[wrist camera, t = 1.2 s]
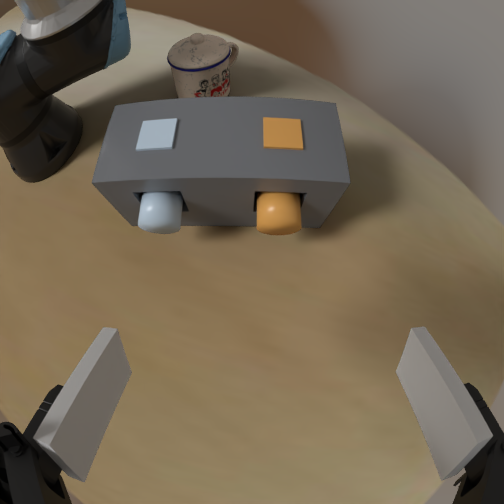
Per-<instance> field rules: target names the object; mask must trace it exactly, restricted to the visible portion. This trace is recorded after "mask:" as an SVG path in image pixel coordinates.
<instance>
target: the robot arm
mask: <svg viewBox="0 0 504 504" xmlns="http://www.w3.org/2000/svg"><path fill="white" fill-rule="evenodd" d="M15 2H16V3H17V5H18V6H19V8H20V9H21V11H22V12H23V14H24V15H25V18H24V20H23V23H22V25H21V34H19V35H16V32H14V31H13V30H7V31H6V32H4V33H2V34H1V35H0V146H1V147H2V148H3V150H4V152H5V154H6V157H7V159H8V160H9V162H10V164H11V167H12V170H13V171H14V173H15V174H16V175H17V176H19V177H20V178H21V179H22V180H24V181H26V182H37V181H40V180H43V179H45V178H47V177H49V176H50V175H52V174H53V173H54V172H56V171H57V170H58V169H59V168H60V167H61V166H62V165H63V164H64V163H65V162H66V161H67V160H68V158H69V157H70V156H71V154H72V153H73V151H74V150H75V148H76V146H77V144H78V142H79V140H80V137H81V133H82V121H81V118H80V117H79V115H78V114H77V112H76V111H75V109H74V108H73V107H71V106H69V105H67V104H65V103H64V102H62V101H61V100H59V99H58V98H56V97H55V96H53V95H52V94H54V93H55V92H57V91H59V90H61V89H63V88H65V87H67V86H69V85H71V84H72V83H74V82H77V81H79V80H81V79H83V78H85V77H87V76H89V75H91V74H93V73H96V72H98V71H100V70H102V69H103V70H104V69H106V68H107V67H108V66H110V65H112V64H114V63H116V62H118V61H120V60H122V59H124V58H125V57H126V56H127V55H128V54H129V52H130V49H131V39H130V30H129V23H128V17H127V11H126V3H125V0H15ZM131 373H132V371H131V369H130V366H129V363H128V360H127V357H126V354H125V351H124V348H123V345H122V342H121V339H120V335H119V332H118V329H114V328H105V327H103V329H102V330H101V331H100V333H99V334H98V336H97V337H96V339H95V340H94V341H93V343H92V344H91V346H90V347H89V349H88V350H87V352H86V353H85V355H84V356H83V358H82V359H81V361H80V362H79V364H78V365H77V367H76V368H75V370H74V371H73V373H72V374H71V376H70V377H69V379H68V380H67V382H66V384H65V385H64V386H61V385H57V386H56V387H54V388H53V389H52V390H51V391H49V393H48V394H47V396H46V397H45V399H44V400H43V401H44V402H42V404H41V405H40V407H39V410H37V412H36V413H35V415H34V416H33V418H32V420H31V421H30V423H29V425H28V426H27V428H26V430H25V431H24V433H23V434H22V433H21V432H20V431H19V430H18V429H17V427H16V426H15V425H14V424H13V423H10V422H2V423H0V504H72V503H71V500H70V497H69V495H68V492H67V490H66V487H65V484H64V481H63V479H62V477H61V475H60V473H61V471H62V470H63V471H64V472H65V473H66V474H67V475H68V476H70V477H72V478H75V479H77V480H80V481H82V482H85V480H86V478H87V475H88V472H89V470H90V467H91V465H92V462H93V460H94V457H95V455H96V453H97V450H98V448H99V445H100V443H101V441H102V438H103V436H104V433H105V431H106V429H107V426H108V424H109V422H110V420H111V417H112V415H113V413H114V411H115V408H116V406H117V404H118V402H119V399H120V397H121V395H122V393H123V391H124V388H125V386H126V384H127V382H128V380H129V378H130V376H131ZM396 373H397V375H398V378H399V380H400V382H401V384H402V386H403V388H404V391H405V393H406V395H407V397H408V399H409V402H410V404H411V406H412V408H413V411H414V413H415V415H416V418H417V420H418V422H419V425H420V427H421V430H422V432H423V434H424V437H425V439H426V442H427V444H428V447H429V449H430V452H431V454H432V457H433V460H434V462H435V465H436V468H437V470H438V473H439V476H440V479H441V481H442V480H445V479H447V478H450V477H452V476H455V475H456V474H458V473H459V472H460V471H461V470H462V469H463V468H465V470H466V473H464V474H463V475H462V476H461V477H460V478H459V479H458V480H457V481H456V482H455V484H454V486H456V485H457V484H458V483H460V482H461V483H460V486H459V489H458V491H457V494H456V496H455V499H454V501H453V504H504V433H503V431H502V430H501V428H500V427H499V424H498V423H497V421H496V419H495V417H494V416H493V414H492V412H491V411H490V409H489V407H487V404H486V402H485V401H484V400H483V397H482V396H481V394H480V393H479V391H478V390H477V389H476V388H475V387H474V386H473V385H471V384H470V383H466V384H463V383H462V381H461V380H460V378H459V376H458V375H457V373H456V372H455V370H454V369H453V367H452V366H451V364H450V363H449V361H448V360H447V358H446V357H445V355H444V354H443V352H442V351H441V349H440V348H439V346H438V345H437V343H436V342H435V340H434V339H433V338H432V336H431V335H430V333H429V332H428V331H427V329H426V328H425V327H417V328H411V330H410V333H409V336H408V339H407V342H406V345H405V348H404V351H403V354H402V357H401V359H400V362H399V365H398V368H397V370H396Z"/></svg>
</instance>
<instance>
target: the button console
mask: <svg viewBox="0 0 504 504" xmlns="http://www.w3.org/2000/svg"><path fill="white" fill-rule="evenodd" d="M92 184H93V185H94V186H95V187H96V188H97V189H98V190H99V191H100V193H101V194H102V195H103V196H104V197H105V198H106V199H107V200H108V201H109V202H110V203H111V204H112V205H113V207H114V208H115V209H116V210H117V211H118V212H119V213H120V214H121V215H122V216H123V217H124V218H125V219H126V220H127V221H128V222H129V223H130V224H131V225H132V226H138V219H139V212H140V205H141V199H142V193H143V192H161V191H180V192H181V193H182V196H183V205H182V215H181V226H257V193H258V192H259V191H267V192H295V193H299V194H300V207H301V226H302V227H305V228H320V227H321V225H322V224H323V222H324V221H325V220H326V218H327V217H328V215H329V214H330V212H331V211H332V209H333V208H334V207H335V205H336V204H337V202H338V201H339V199H340V198H341V196H342V195H343V193H344V192H345V190H346V189H347V188H348V186H349V185H350V177H349V170H348V164H347V158H346V152H345V147H344V141H343V136H342V131H341V126H340V121H339V116H338V111H337V107H336V103H330V102H321V101H312V100H301V99H288V98H271V97H195V98H178V99H165V100H155V101H145V102H137V103H129V104H122V105H115V108H114V111H113V113H112V116H111V119H110V122H109V125H108V128H107V131H106V134H105V137H104V140H103V144H102V147H101V150H100V154H99V157H98V161H97V164H96V168H95V172H94V176H93V180H92Z"/></svg>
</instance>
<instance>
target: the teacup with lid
mask: <svg viewBox="0 0 504 504" xmlns="http://www.w3.org/2000/svg"><path fill="white" fill-rule="evenodd" d="M231 47H232V52H231V50H230V48H231ZM230 52H231V55H230ZM238 52H239V49H238V46H237V45H236V44H234V43H232V42H226V41H225V40H224V39H222V38H220V37H218V36H214V35H203V34H201V33H195V34H193V35H191V36H190V37H187V38H185V39H182V40H180V41H179V42H177V43H176V44H175V45H173V46H172V48H171V49H170V51H169V53H168V57H167V60H168V63H169V64H170V66H171V70H172V74H173V78H174V82H175V87H176V91H177V95H178V98H195V97H227V96H228V94H229V92H230V68H229V67H230V66H232V65H233V63H234V62H235V60H236V58H237V56H238ZM229 55H230V57H229Z"/></svg>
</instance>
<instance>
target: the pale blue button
mask: <svg viewBox="0 0 504 504" xmlns="http://www.w3.org/2000/svg"><path fill="white" fill-rule="evenodd" d="M182 205H183V196H182V193H181V192H180V191H161V192H143V193H142V199H141V205H140V212H139V219H138V226H139V227H140V228H141V229H143V230H145V231H148V232H152V233H159V234H170V233H175V232H178V231H179V230H180V226H181V215H182Z"/></svg>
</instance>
